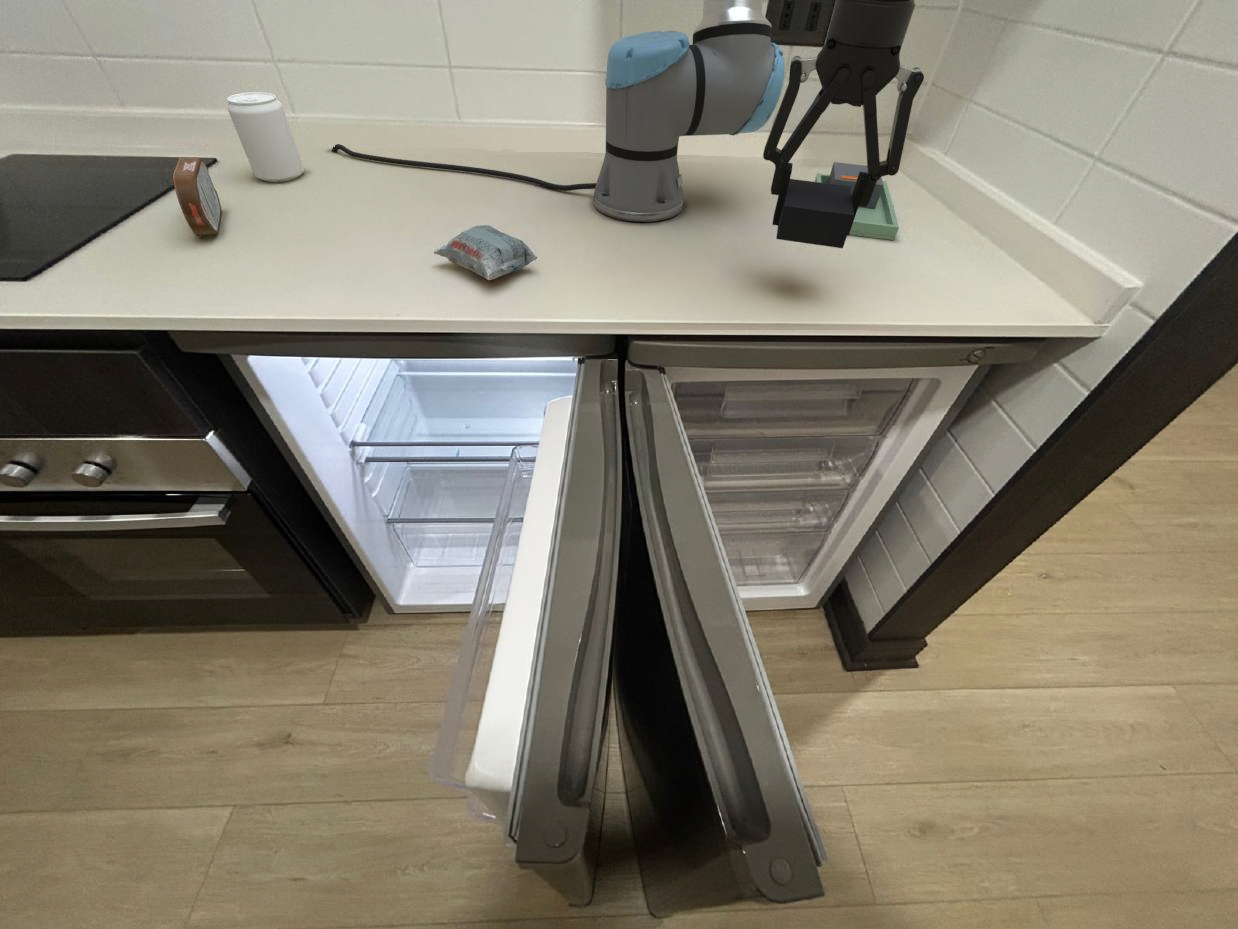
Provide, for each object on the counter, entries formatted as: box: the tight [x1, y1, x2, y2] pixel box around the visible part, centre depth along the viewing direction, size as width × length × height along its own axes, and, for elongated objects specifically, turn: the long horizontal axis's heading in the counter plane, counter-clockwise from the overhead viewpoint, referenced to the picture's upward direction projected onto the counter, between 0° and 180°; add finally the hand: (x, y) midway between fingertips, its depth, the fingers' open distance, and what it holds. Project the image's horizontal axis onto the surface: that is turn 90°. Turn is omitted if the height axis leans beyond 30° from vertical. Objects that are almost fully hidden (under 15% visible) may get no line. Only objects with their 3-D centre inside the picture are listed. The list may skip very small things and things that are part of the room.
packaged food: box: [433, 224, 538, 281], centre depth 75 cm, size 9×12×5 cm
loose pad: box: [776, 178, 854, 249], centre depth 69 cm, size 8×10×4 cm
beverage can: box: [226, 91, 305, 183], centre depth 95 cm, size 8×8×12 cm
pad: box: [828, 161, 884, 209], centre depth 98 cm, size 8×10×4 cm
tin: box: [172, 156, 222, 237], centre depth 81 cm, size 15×3×8 cm, turn 23°
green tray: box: [814, 172, 900, 241], centre depth 96 cm, size 22×13×2 cm, turn 166°
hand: (810, 225), depth 70 cm, fingers closed on loose pad, 8 cm apart
